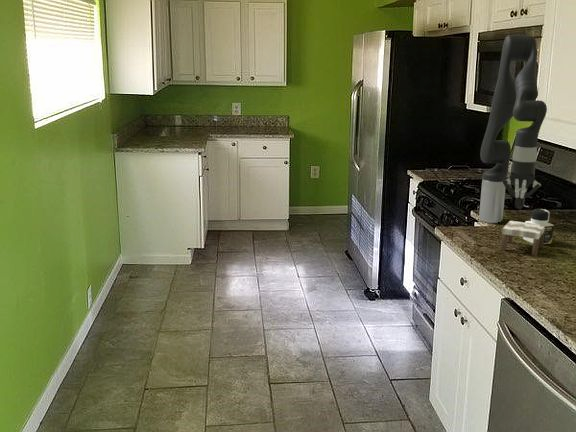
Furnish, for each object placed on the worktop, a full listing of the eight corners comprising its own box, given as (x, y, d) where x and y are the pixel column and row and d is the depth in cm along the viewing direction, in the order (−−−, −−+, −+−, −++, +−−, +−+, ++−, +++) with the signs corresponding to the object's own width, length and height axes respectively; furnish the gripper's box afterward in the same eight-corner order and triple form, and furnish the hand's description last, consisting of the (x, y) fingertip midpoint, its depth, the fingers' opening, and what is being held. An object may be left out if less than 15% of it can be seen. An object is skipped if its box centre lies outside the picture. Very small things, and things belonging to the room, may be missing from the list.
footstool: (510, 220, 222) (545, 225, 216) (508, 241, 224) (542, 246, 218) (502, 228, 212) (539, 233, 206) (500, 250, 215) (536, 256, 208)
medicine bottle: (535, 245, 220) (538, 213, 217) (522, 239, 227) (526, 208, 224) (551, 243, 222) (555, 211, 219) (539, 237, 229) (542, 207, 226)
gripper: (546, 159, 209) (540, 208, 213) (507, 155, 216) (502, 203, 220) (542, 162, 203) (536, 213, 207) (501, 159, 209) (497, 207, 214)
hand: (518, 207), depth 214 cm, fingers closed
